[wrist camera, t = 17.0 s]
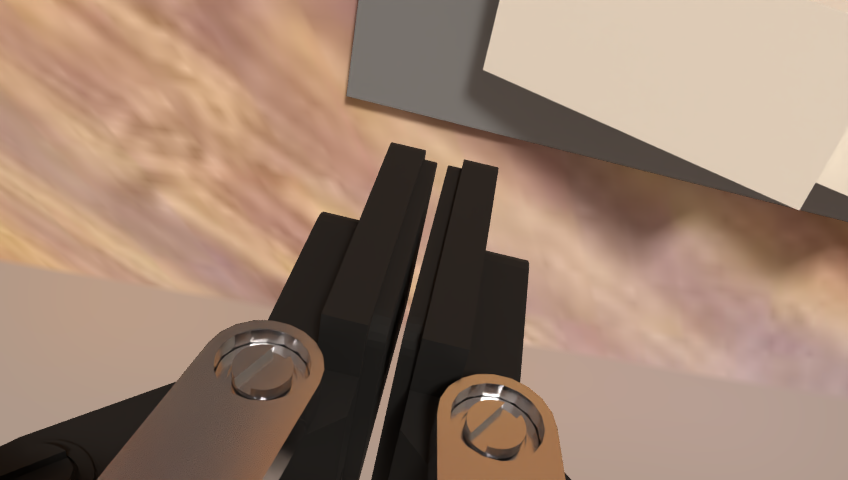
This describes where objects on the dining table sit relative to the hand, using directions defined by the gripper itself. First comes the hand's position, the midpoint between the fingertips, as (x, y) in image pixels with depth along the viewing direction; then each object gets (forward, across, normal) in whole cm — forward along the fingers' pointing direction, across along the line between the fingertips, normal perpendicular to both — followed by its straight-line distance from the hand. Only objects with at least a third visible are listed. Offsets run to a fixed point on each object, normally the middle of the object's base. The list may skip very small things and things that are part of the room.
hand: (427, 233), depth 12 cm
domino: (+14, -1, 0) cm, 14 cm away
